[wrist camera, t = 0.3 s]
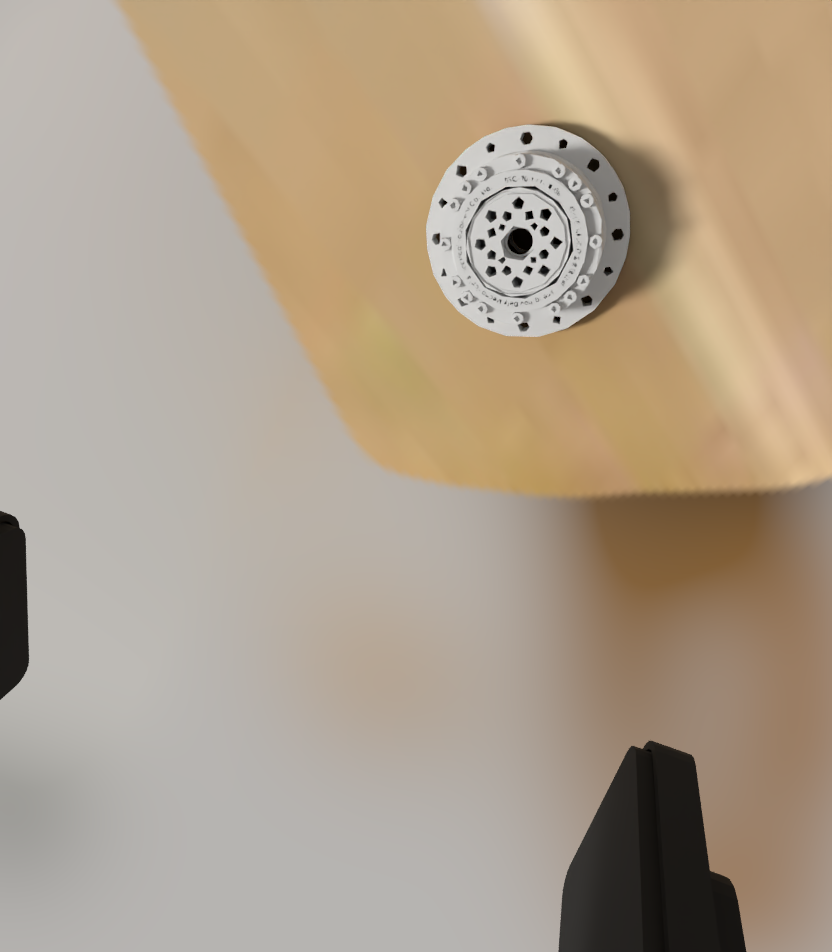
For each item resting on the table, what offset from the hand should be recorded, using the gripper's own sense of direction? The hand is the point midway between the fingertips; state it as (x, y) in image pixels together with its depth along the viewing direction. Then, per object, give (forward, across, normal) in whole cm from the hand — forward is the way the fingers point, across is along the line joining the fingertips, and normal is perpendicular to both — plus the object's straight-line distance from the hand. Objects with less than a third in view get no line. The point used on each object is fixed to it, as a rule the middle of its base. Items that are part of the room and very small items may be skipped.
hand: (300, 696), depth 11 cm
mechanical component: (+31, +1, -3) cm, 32 cm away
